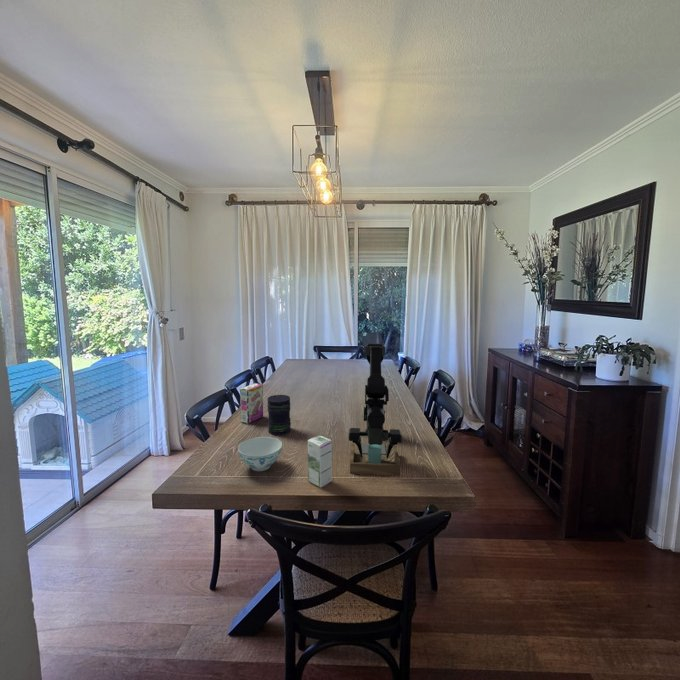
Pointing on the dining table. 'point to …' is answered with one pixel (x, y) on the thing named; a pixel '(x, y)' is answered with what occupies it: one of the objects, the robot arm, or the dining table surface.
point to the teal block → (374, 453)
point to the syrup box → (319, 461)
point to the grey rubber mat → (365, 449)
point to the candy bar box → (251, 403)
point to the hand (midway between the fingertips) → (374, 457)
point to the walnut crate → (375, 466)
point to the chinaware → (260, 452)
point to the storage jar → (279, 414)
